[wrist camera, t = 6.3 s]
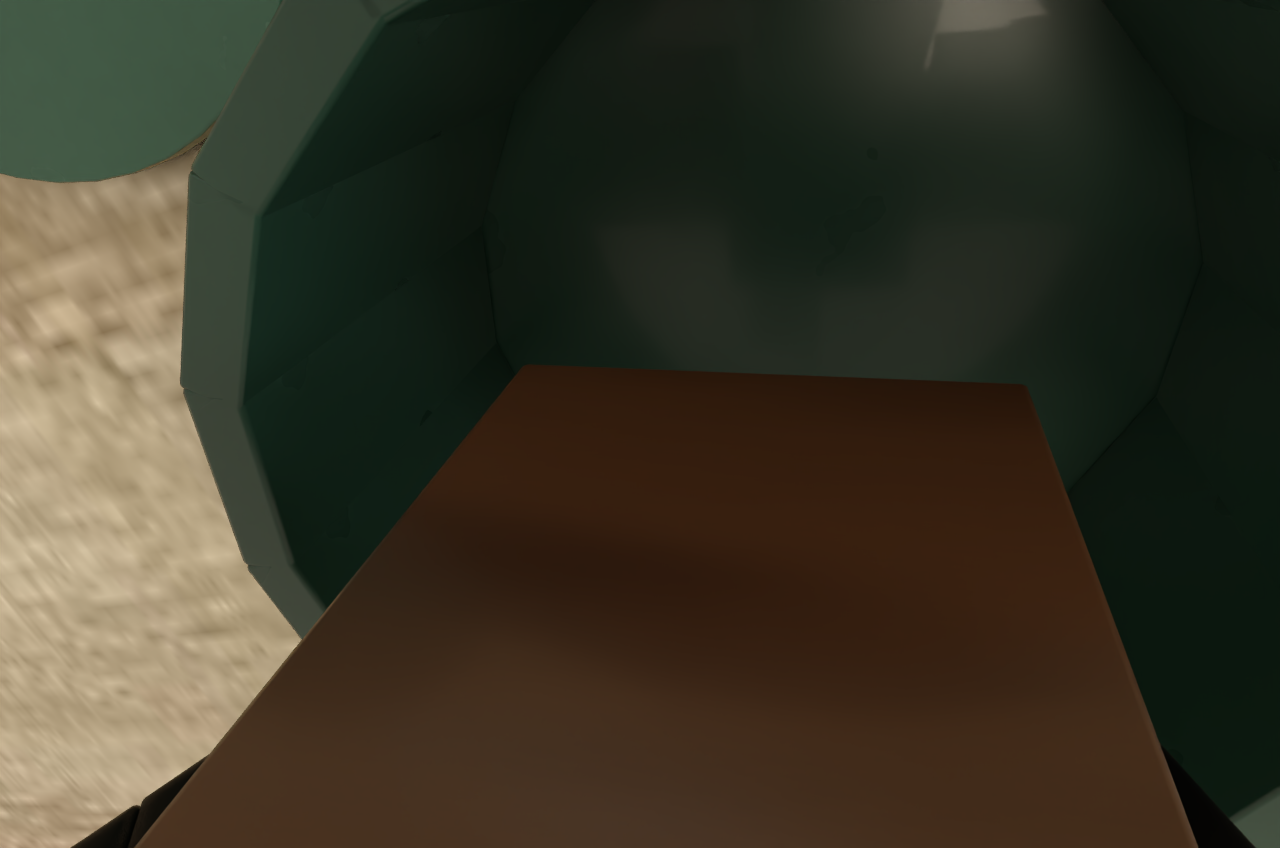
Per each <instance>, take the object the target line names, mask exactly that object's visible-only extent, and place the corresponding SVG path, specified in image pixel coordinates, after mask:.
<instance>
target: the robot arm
mask: <svg viewBox="0 0 1280 848" xmlns="http://www.w3.org/2000/svg"><path fill="white" fill-rule="evenodd" d="M1159 743H1160V742H1159ZM1160 746H1161V748H1162V751H1163V754H1164V757H1165V759H1166V762H1167V765H1168V767H1169V770H1170V773H1171V775H1172V778H1173V781H1174V783H1175V786H1176V789H1177V792H1178V794H1179V797H1180V800H1181V802H1182V805H1183V808H1184V810H1185V813H1186V816H1187V819H1188V821H1189V824H1190V827H1191V829H1192V832H1193V835H1194V837H1195V840H1196V843H1197V845H1198V848H1256V847H1255V846H1254V845H1253V844H1252V843H1251V842H1250V841H1249V840H1248V839H1247V837H1246V836H1245V835H1244V834H1243V833H1242V832H1241V831H1240V830H1239V829H1238V828H1237V827H1236V825H1235V824H1234V823H1233V822H1232V821H1231V820H1230V819H1229V818H1228V817H1227V816H1226V814H1225V813H1224V812H1223V811H1222V810H1221V809H1220V808H1219V807H1218V806H1217V805H1216V804H1215V802H1214V801H1213V800H1212V799H1211V798H1210V797H1209V796H1208V795H1207V794H1206V793H1205V792H1204V790H1203V789H1202V788H1201V787H1200V786H1199V785H1198V784H1197V783H1196V782H1195V781H1194V780H1193V778H1192V777H1191V776H1190V775H1189V774H1188V773H1187V772H1186V771H1185V770H1184V769H1183V768H1182V766H1181V765H1180V764H1179V763H1178V762H1177V761H1176V760H1175V759H1174V758H1173V757H1172V756H1171V754H1170V753H1169V752H1168V751H1167V750H1166V749H1165V748H1164V747H1163V746H1162V745H1161V744H1160ZM208 756H209V755H207V756H206V757H204V758H203V759H202V760H200V761H199V762H197V763H196V764H194V765H193V766H191V767H190V768H188V769H187V770H185V771H184V772H182V773H181V774H179V775H178V776H177V777H175V778H174V779H172V780H171V781H169V782H168V783H166V784H165V785H163V786H162V787H160V788H159V789H157V790H156V791H154V792H153V793H151V794H150V795H149V796H147V797H146V798H145V799H144V800H143V801H142V804H141V807H140V806H138V805H135V806H132V807H130V808H129V809H127V810H126V811H125V812H123V813H122V814H120V815H119V816H117V817H116V818H114V819H113V820H111V821H110V822H108V823H107V824H105V825H104V826H102V827H101V828H99V829H98V830H97V831H95V832H94V833H92V834H91V835H89V836H88V837H86V838H85V839H83V840H82V841H80V842H79V843H77V844H76V845H74V846H72V847H71V848H134V847H135V846H136V845H137V844H138V842H139V841H140V840H141V839H142V837H143V836H144V835H145V834H146V832H147V831H148V830H149V829H150V827H151V826H152V825H153V824H154V822H155V821H156V820H157V819H158V817H159V816H160V815H161V814H162V813H163V811H164V810H165V809H166V808H167V806H168V805H169V804H170V803H171V801H172V800H173V799H174V798H175V796H176V795H177V794H178V793H179V791H180V790H181V789H182V788H183V787H184V785H185V784H186V783H187V782H188V780H189V779H190V778H191V777H192V775H193V774H194V773H195V772H196V770H197V769H198V768H199V767H200V765H201V764H202V763H203V762H204V760H205V759H206V758H207V757H208Z"/></svg>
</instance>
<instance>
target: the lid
mask: <svg viewBox="0 0 1280 848" xmlns="http://www.w3.org/2000/svg"><path fill="white" fill-rule="evenodd" d="M281 2H282V0H0V173H1V174H5V175H9V176H13V177H16V178H23V179H32V180H40V181H48V182H56V183H68V182H93V181H102V180H106V179H111V178H115V177H120V176H124V175H129V174H133V173H137V172H140V171H143V170H146V169H149V168H152V167H154V166H156V165H159V164H161V163H163V162H165V161H168V160H170V159H172V158H175V157H177V156H179V155H182V154H184V153H185V152H187V151H188V150H190V149H191V148H192V147H194V146H195V145H197V144H198V143H200V142H201V141H203V140H204V139H205V138H207V137H208V135H209V133H210V131H211V130H212V128H213V126H214V124H215V122H216V120H217V119H218V117H219V115H220V113H221V111H222V110H223V108H224V106H225V104H226V102H227V100H228V99H229V97H230V95H231V93H232V91H233V89H234V88H235V86H236V84H237V82H238V80H239V78H240V77H241V75H242V73H243V71H244V69H245V68H246V66H247V64H248V62H249V60H250V58H251V57H252V55H253V53H254V51H255V49H256V47H257V46H258V44H259V42H260V40H261V38H262V36H263V35H264V33H265V31H266V29H267V27H268V26H269V24H270V22H271V20H272V18H273V16H274V15H275V13H276V11H277V9H278V7H279V5H280V4H281Z"/></svg>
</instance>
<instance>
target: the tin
mask: <svg viewBox="0 0 1280 848" xmlns="http://www.w3.org/2000/svg"><path fill="white" fill-rule="evenodd" d="M191 169H192V171H191V172H190V174H189V180H188V204H187V229H186V253H185V278H184V302H183V327H182V351H181V375H180V384H181V386H182V387H183V388H184V392H183V394H184V396H185V399H186V402H187V405H188V408H189V410H190V413H191V416H192V419H193V421H194V424H195V427H196V430H197V433H198V435H199V438H200V441H201V444H202V446H203V449H204V452H205V455H206V458H207V460H208V463H209V466H210V469H211V471H212V474H213V477H214V480H215V483H216V485H217V488H218V491H219V494H220V496H221V499H222V502H223V505H224V508H225V510H226V513H227V516H228V519H229V522H230V524H231V527H232V530H233V533H234V535H235V538H236V541H237V544H238V547H239V549H240V552H241V555H242V558H243V560H244V562H245V563H246V564H248V570H249V572H250V573H251V574H252V576H253V577H254V578H255V579H256V581H257V582H258V583H259V585H260V586H261V587H262V589H263V590H264V591H265V592H266V594H267V595H268V596H269V598H270V599H271V600H272V601H273V603H274V604H275V605H276V607H277V608H278V609H279V611H280V612H281V613H282V614H283V616H284V617H285V618H286V620H287V621H288V622H289V624H290V625H291V626H292V627H293V629H294V630H295V631H296V633H297V634H298V635H299V636H300V638H301V639H303V638H304V637H305V635H306V634H307V633H308V632H309V630H310V629H311V628H312V627H313V625H314V624H315V623H316V622H317V620H318V619H319V618H320V617H321V616H322V614H323V613H324V612H325V611H326V609H327V608H328V607H329V606H330V604H331V603H332V602H333V601H334V599H335V598H336V597H337V596H338V594H339V593H340V592H341V591H342V590H343V588H344V587H345V586H346V585H347V583H348V582H349V581H350V580H351V578H352V577H353V576H354V575H355V573H356V572H357V571H358V570H359V568H360V567H361V566H362V565H363V563H364V562H365V561H366V560H367V559H368V557H369V556H370V555H371V554H372V552H373V551H374V550H375V549H376V547H377V546H378V545H379V544H380V542H381V541H382V540H383V539H384V537H385V536H386V535H387V534H388V533H389V531H390V530H391V529H392V528H393V526H394V525H395V524H396V523H397V521H398V520H399V519H400V518H401V516H402V515H403V514H404V513H405V511H406V510H407V509H408V508H409V506H410V505H411V504H412V503H413V502H414V500H415V499H416V498H417V497H418V495H419V494H420V493H421V492H422V490H423V489H424V488H425V487H426V485H427V484H428V483H429V482H430V480H431V479H432V478H433V477H434V476H435V474H436V473H437V472H438V471H439V469H440V468H441V467H442V466H443V464H444V463H445V462H446V461H447V459H448V458H449V457H450V456H451V454H452V453H453V452H454V451H455V450H456V448H457V447H458V446H459V445H460V443H461V442H462V441H463V440H464V438H465V437H466V436H467V435H468V433H469V432H470V431H471V430H472V428H473V427H474V426H475V425H476V423H477V422H478V421H479V420H480V419H481V417H482V416H483V415H484V414H485V412H486V411H487V410H488V409H489V407H490V406H491V405H492V404H493V402H494V401H495V400H496V399H497V397H498V396H499V395H500V394H501V393H502V391H503V390H504V389H505V388H506V386H507V385H508V384H509V383H510V381H511V380H512V379H513V378H514V376H515V375H516V374H517V373H518V371H519V370H520V369H521V368H522V366H525V365H528V364H531V365H556V366H581V367H607V368H632V369H657V370H682V371H707V372H733V373H758V374H783V375H808V376H834V377H859V378H884V379H909V380H934V381H960V382H985V383H1010V384H1022V385H1025V386H1027V387H1028V390H1029V393H1030V396H1031V398H1032V401H1033V404H1034V406H1035V409H1036V412H1037V414H1038V417H1039V420H1040V423H1041V425H1042V428H1043V431H1044V433H1045V436H1046V439H1047V441H1048V444H1049V447H1050V449H1051V452H1052V455H1053V458H1054V460H1055V463H1056V466H1057V468H1058V471H1059V474H1060V476H1061V479H1062V482H1063V484H1064V487H1065V490H1066V493H1067V495H1068V498H1069V501H1070V503H1071V506H1072V509H1073V511H1074V514H1075V517H1076V519H1077V522H1078V525H1079V528H1080V530H1081V533H1082V536H1083V538H1084V541H1085V544H1086V546H1087V549H1088V552H1089V555H1090V557H1091V560H1092V563H1093V565H1094V568H1095V571H1096V573H1097V576H1098V579H1099V581H1100V584H1101V587H1102V590H1103V592H1104V595H1105V598H1106V600H1107V603H1108V606H1109V608H1110V611H1111V614H1112V616H1113V619H1114V622H1115V625H1116V627H1117V630H1118V633H1119V635H1120V638H1121V641H1122V643H1123V646H1124V649H1125V651H1126V654H1127V657H1128V660H1129V662H1130V665H1131V668H1132V670H1133V673H1134V676H1135V678H1136V681H1137V684H1138V687H1139V689H1140V692H1141V695H1142V697H1143V700H1144V703H1145V705H1146V708H1147V711H1148V713H1149V716H1150V719H1151V722H1152V724H1153V727H1154V730H1155V732H1156V735H1157V738H1158V740H1159V742H1160V744H1161V745H1162V746H1163V747H1164V748H1165V749H1166V750H1167V751H1168V752H1169V753H1170V754H1171V756H1172V757H1173V758H1174V759H1175V760H1176V761H1177V762H1178V763H1179V764H1180V765H1181V766H1182V768H1183V769H1184V770H1185V771H1186V772H1187V773H1188V774H1189V775H1190V776H1191V777H1192V778H1193V780H1194V781H1195V782H1196V783H1197V784H1198V785H1199V786H1200V787H1201V788H1202V789H1203V790H1204V792H1205V793H1206V794H1207V795H1208V796H1209V797H1210V798H1211V799H1212V800H1213V801H1214V802H1215V804H1216V805H1217V806H1218V807H1219V808H1220V809H1221V810H1222V811H1223V812H1224V813H1225V814H1226V816H1227V817H1228V818H1229V819H1230V820H1231V821H1232V822H1233V823H1234V824H1235V825H1236V827H1237V828H1238V829H1239V830H1240V831H1241V832H1242V833H1243V834H1244V835H1245V836H1246V837H1247V839H1248V840H1249V841H1250V842H1251V843H1252V844H1253V845H1254V846H1255V847H1256V848H1280V0H282V2H281V4H280V5H279V7H278V9H277V11H276V13H275V15H274V16H273V18H272V20H271V22H270V24H269V26H268V27H267V29H266V31H265V33H264V35H263V36H262V38H261V40H260V42H259V44H258V46H257V47H256V49H255V51H254V53H253V55H252V57H251V58H250V60H249V62H248V64H247V66H246V68H245V69H244V71H243V73H242V75H241V77H240V78H239V80H238V82H237V84H236V86H235V88H234V89H233V91H232V93H231V95H230V97H229V99H228V100H227V102H226V104H225V106H224V108H223V110H222V111H221V113H220V115H219V117H218V119H217V120H216V122H215V124H214V126H213V128H212V130H211V131H210V133H209V135H208V137H207V139H206V141H205V142H204V144H203V146H202V148H201V150H200V152H199V153H198V155H197V157H196V159H195V161H194V162H193V164H192V168H191Z"/></svg>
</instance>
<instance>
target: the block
mask: <svg viewBox="0 0 1280 848" xmlns="http://www.w3.org/2000/svg"><path fill="white" fill-rule="evenodd" d="M134 848H1198V845H1197V843H1196V840H1195V837H1194V835H1193V832H1192V829H1191V827H1190V824H1189V821H1188V819H1187V816H1186V813H1185V810H1184V808H1183V805H1182V802H1181V800H1180V797H1179V794H1178V792H1177V789H1176V786H1175V783H1174V781H1173V778H1172V775H1171V773H1170V770H1169V767H1168V765H1167V762H1166V759H1165V757H1164V754H1163V751H1162V748H1161V746H1160V743H1159V740H1158V738H1157V735H1156V732H1155V730H1154V727H1153V724H1152V722H1151V719H1150V716H1149V713H1148V711H1147V708H1146V705H1145V703H1144V700H1143V697H1142V695H1141V692H1140V689H1139V687H1138V684H1137V681H1136V678H1135V676H1134V673H1133V670H1132V668H1131V665H1130V662H1129V660H1128V657H1127V654H1126V651H1125V649H1124V646H1123V643H1122V641H1121V638H1120V635H1119V633H1118V630H1117V627H1116V625H1115V622H1114V619H1113V616H1112V614H1111V611H1110V608H1109V606H1108V603H1107V600H1106V598H1105V595H1104V592H1103V590H1102V587H1101V584H1100V581H1099V579H1098V576H1097V573H1096V571H1095V568H1094V565H1093V563H1092V560H1091V557H1090V555H1089V552H1088V549H1087V546H1086V544H1085V541H1084V538H1083V536H1082V533H1081V530H1080V528H1079V525H1078V522H1077V519H1076V517H1075V514H1074V511H1073V509H1072V506H1071V503H1070V501H1069V498H1068V495H1067V493H1066V490H1065V487H1064V484H1063V482H1062V479H1061V476H1060V474H1059V471H1058V468H1057V466H1056V463H1055V460H1054V458H1053V455H1052V452H1051V449H1050V447H1049V444H1048V441H1047V439H1046V436H1045V433H1044V431H1043V428H1042V425H1041V423H1040V420H1039V417H1038V414H1037V412H1036V409H1035V406H1034V404H1033V401H1032V398H1031V396H1030V393H1029V390H1028V387H1027V386H1025V385H1022V384H1010V383H985V382H960V381H934V380H909V379H884V378H859V377H834V376H808V375H783V374H758V373H733V372H707V371H682V370H657V369H632V368H607V367H581V366H556V365H531V364H528V365H525V366H522V368H521V369H520V370H519V371H518V373H517V374H516V375H515V376H514V378H513V379H512V380H511V381H510V383H509V384H508V385H507V386H506V388H505V389H504V390H503V391H502V393H501V394H500V395H499V396H498V397H497V399H496V400H495V401H494V402H493V404H492V405H491V406H490V407H489V409H488V410H487V411H486V412H485V414H484V415H483V416H482V417H481V419H480V420H479V421H478V422H477V423H476V425H475V426H474V427H473V428H472V430H471V431H470V432H469V433H468V435H467V436H466V437H465V438H464V440H463V441H462V442H461V443H460V445H459V446H458V447H457V448H456V450H455V451H454V452H453V453H452V454H451V456H450V457H449V458H448V459H447V461H446V462H445V463H444V464H443V466H442V467H441V468H440V469H439V471H438V472H437V473H436V474H435V476H434V477H433V478H432V479H431V480H430V482H429V483H428V484H427V485H426V487H425V488H424V489H423V490H422V492H421V493H420V494H419V495H418V497H417V498H416V499H415V500H414V502H413V503H412V504H411V505H410V506H409V508H408V509H407V510H406V511H405V513H404V514H403V515H402V516H401V518H400V519H399V520H398V521H397V523H396V524H395V525H394V526H393V528H392V529H391V530H390V531H389V533H388V534H387V535H386V536H385V537H384V539H383V540H382V541H381V542H380V544H379V545H378V546H377V547H376V549H375V550H374V551H373V552H372V554H371V555H370V556H369V557H368V559H367V560H366V561H365V562H364V563H363V565H362V566H361V567H360V568H359V570H358V571H357V572H356V573H355V575H354V576H353V577H352V578H351V580H350V581H349V582H348V583H347V585H346V586H345V587H344V588H343V590H342V591H341V592H340V593H339V594H338V596H337V597H336V598H335V599H334V601H333V602H332V603H331V604H330V606H329V607H328V608H327V609H326V611H325V612H324V613H323V614H322V616H321V617H320V618H319V619H318V620H317V622H316V623H315V624H314V625H313V627H312V628H311V629H310V630H309V632H308V633H307V634H306V635H305V637H304V638H303V639H302V640H301V642H300V643H299V644H298V645H297V647H296V648H295V649H294V650H293V651H292V653H291V654H290V655H289V656H288V658H287V659H286V660H285V661H284V663H283V664H282V665H281V666H280V668H279V669H278V670H277V671H276V673H275V674H274V675H273V676H272V677H271V679H270V680H269V681H268V682H267V684H266V685H265V686H264V687H263V689H262V690H261V691H260V692H259V694H258V695H257V696H256V697H255V699H254V700H253V701H252V702H251V703H250V705H249V706H248V707H247V708H246V710H245V711H244V712H243V713H242V715H241V716H240V717H239V718H238V720H237V721H236V722H235V723H234V725H233V726H232V727H231V728H230V730H229V731H228V732H227V733H226V734H225V736H224V737H223V738H222V739H221V741H220V742H219V743H218V744H217V746H216V747H215V748H214V749H213V751H212V752H211V753H210V754H209V756H208V757H207V758H206V759H205V760H204V762H203V763H202V764H201V765H200V767H199V768H198V769H197V770H196V772H195V773H194V774H193V775H192V777H191V778H190V779H189V780H188V782H187V783H186V784H185V785H184V787H183V788H182V789H181V790H180V791H179V793H178V794H177V795H176V796H175V798H174V799H173V800H172V801H171V803H170V804H169V805H168V806H167V808H166V809H165V810H164V811H163V813H162V814H161V815H160V816H159V817H158V819H157V820H156V821H155V822H154V824H153V825H152V826H151V827H150V829H149V830H148V831H147V832H146V834H145V835H144V836H143V837H142V839H141V840H140V841H139V842H138V844H137V845H136V846H135V847H134Z"/></svg>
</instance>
